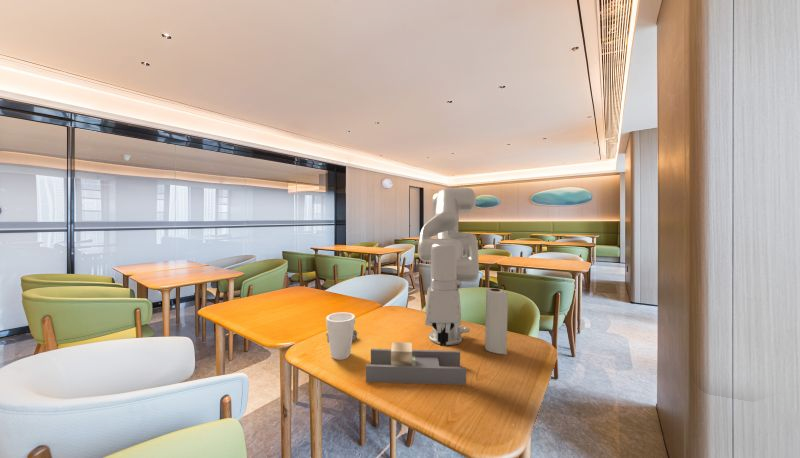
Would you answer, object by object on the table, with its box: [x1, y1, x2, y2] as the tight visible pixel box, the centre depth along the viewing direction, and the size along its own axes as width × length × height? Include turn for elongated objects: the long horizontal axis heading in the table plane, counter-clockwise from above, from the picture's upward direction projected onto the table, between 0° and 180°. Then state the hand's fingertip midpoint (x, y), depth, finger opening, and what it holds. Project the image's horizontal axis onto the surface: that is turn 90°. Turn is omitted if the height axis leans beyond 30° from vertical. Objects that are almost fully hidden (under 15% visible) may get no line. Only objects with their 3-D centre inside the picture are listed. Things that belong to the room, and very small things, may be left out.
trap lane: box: [365, 348, 467, 386], centre depth 87 cm, size 28×11×4 cm, turn 88°
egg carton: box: [325, 329, 359, 344], centre depth 110 cm, size 11×8×4 cm
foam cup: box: [325, 311, 356, 360], centre depth 98 cm, size 10×9×13 cm
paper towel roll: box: [484, 287, 509, 356], centre depth 102 cm, size 7×6×21 cm
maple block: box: [390, 342, 413, 366], centre depth 87 cm, size 6×6×5 cm
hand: (442, 343), depth 88 cm, fingers closed
